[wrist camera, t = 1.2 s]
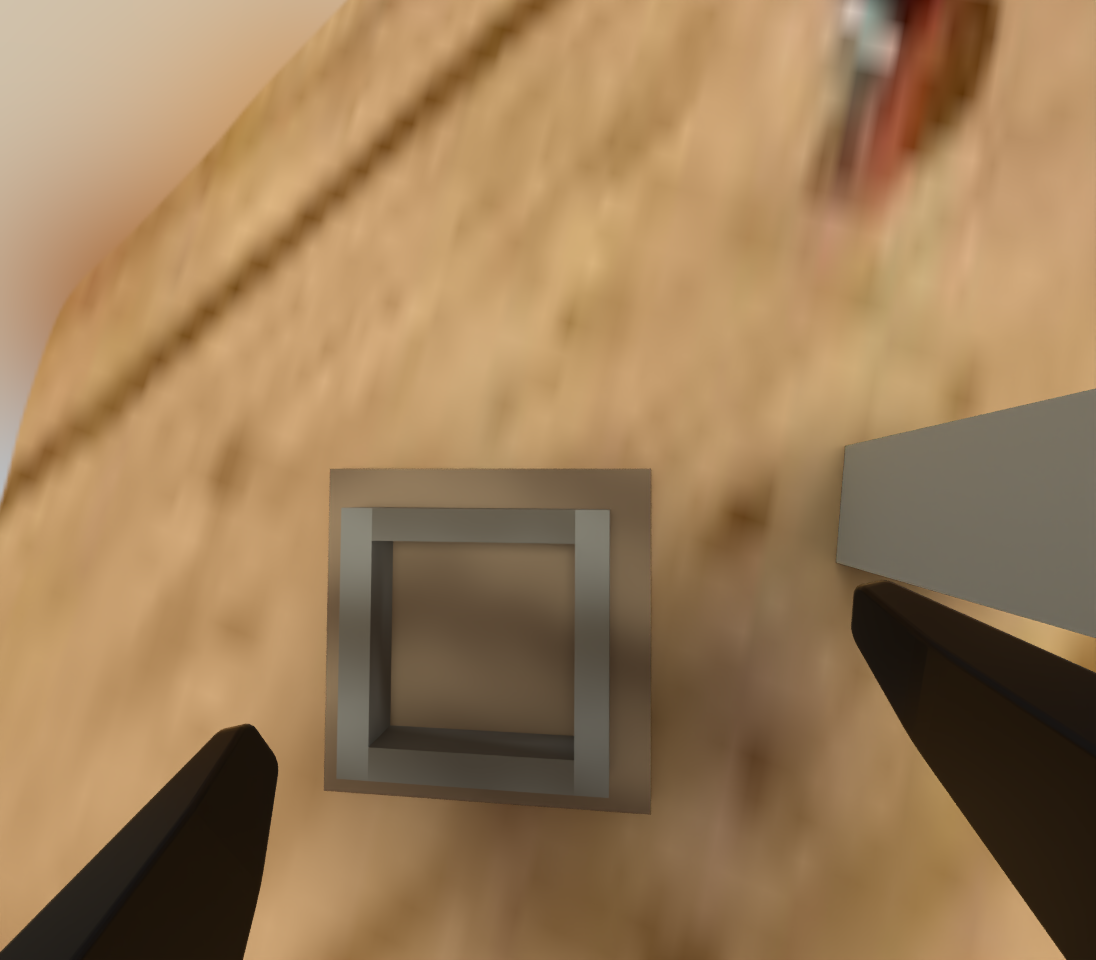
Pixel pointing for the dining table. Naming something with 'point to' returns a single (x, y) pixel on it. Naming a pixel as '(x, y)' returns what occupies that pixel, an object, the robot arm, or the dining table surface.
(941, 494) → the block
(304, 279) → the dining table surface
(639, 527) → the jig
